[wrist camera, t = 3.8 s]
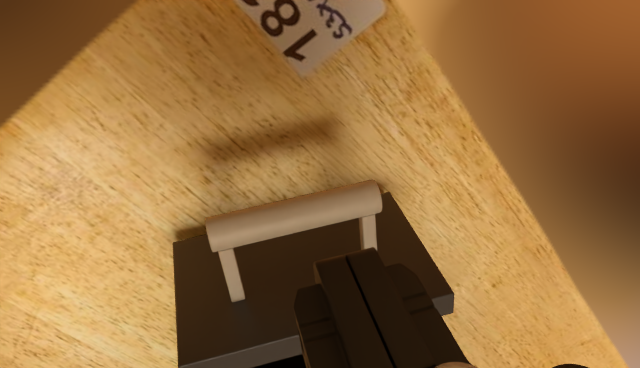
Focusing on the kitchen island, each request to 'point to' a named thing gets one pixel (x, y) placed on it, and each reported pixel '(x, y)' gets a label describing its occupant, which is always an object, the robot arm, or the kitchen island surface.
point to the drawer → (281, 272)
